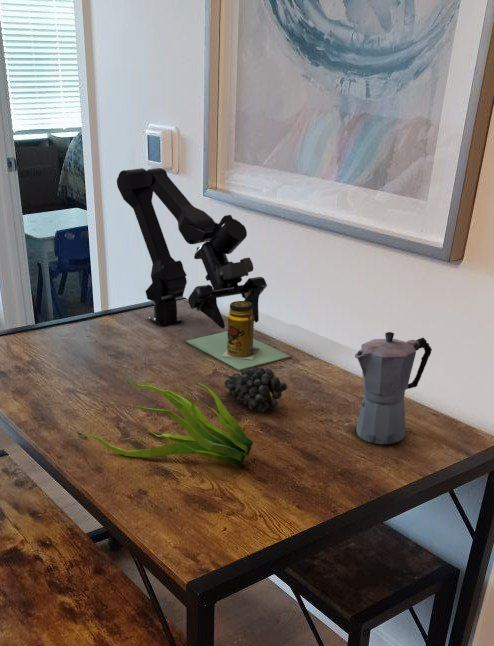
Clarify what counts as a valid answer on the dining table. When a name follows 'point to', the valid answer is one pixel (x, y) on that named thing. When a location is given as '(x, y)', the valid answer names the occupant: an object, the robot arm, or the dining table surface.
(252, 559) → the dining table surface
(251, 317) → the condiment
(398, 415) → the moka pot
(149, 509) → the dining table surface
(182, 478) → the dining table surface
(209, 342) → the mat
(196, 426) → the decorative plant
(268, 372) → the fruit
